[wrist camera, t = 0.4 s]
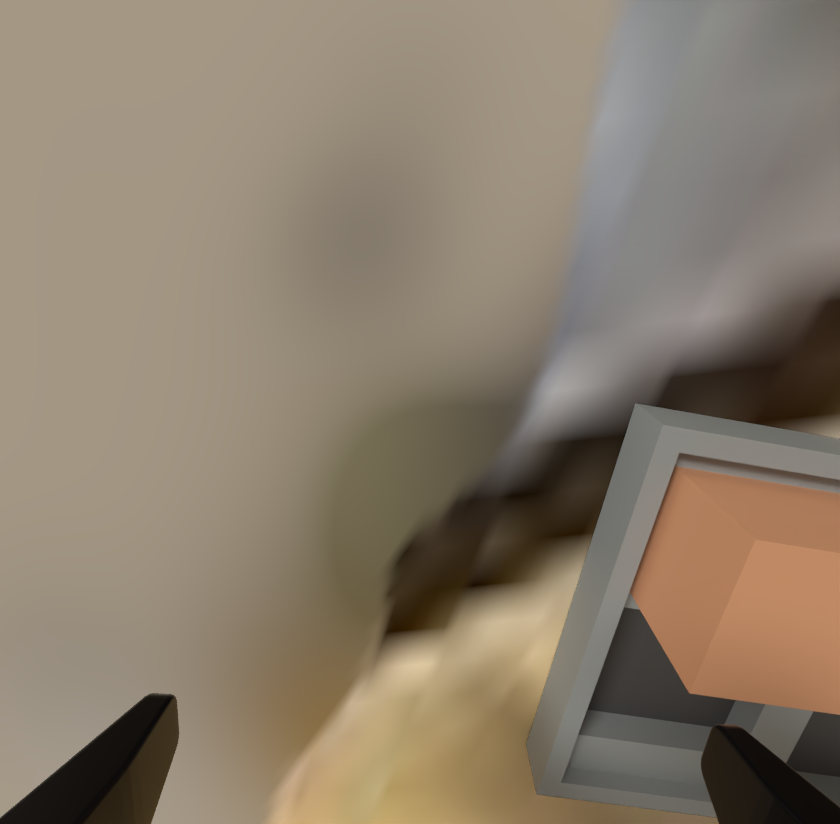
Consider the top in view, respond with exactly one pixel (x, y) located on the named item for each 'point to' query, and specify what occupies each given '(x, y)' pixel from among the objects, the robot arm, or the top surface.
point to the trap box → (640, 649)
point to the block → (746, 589)
